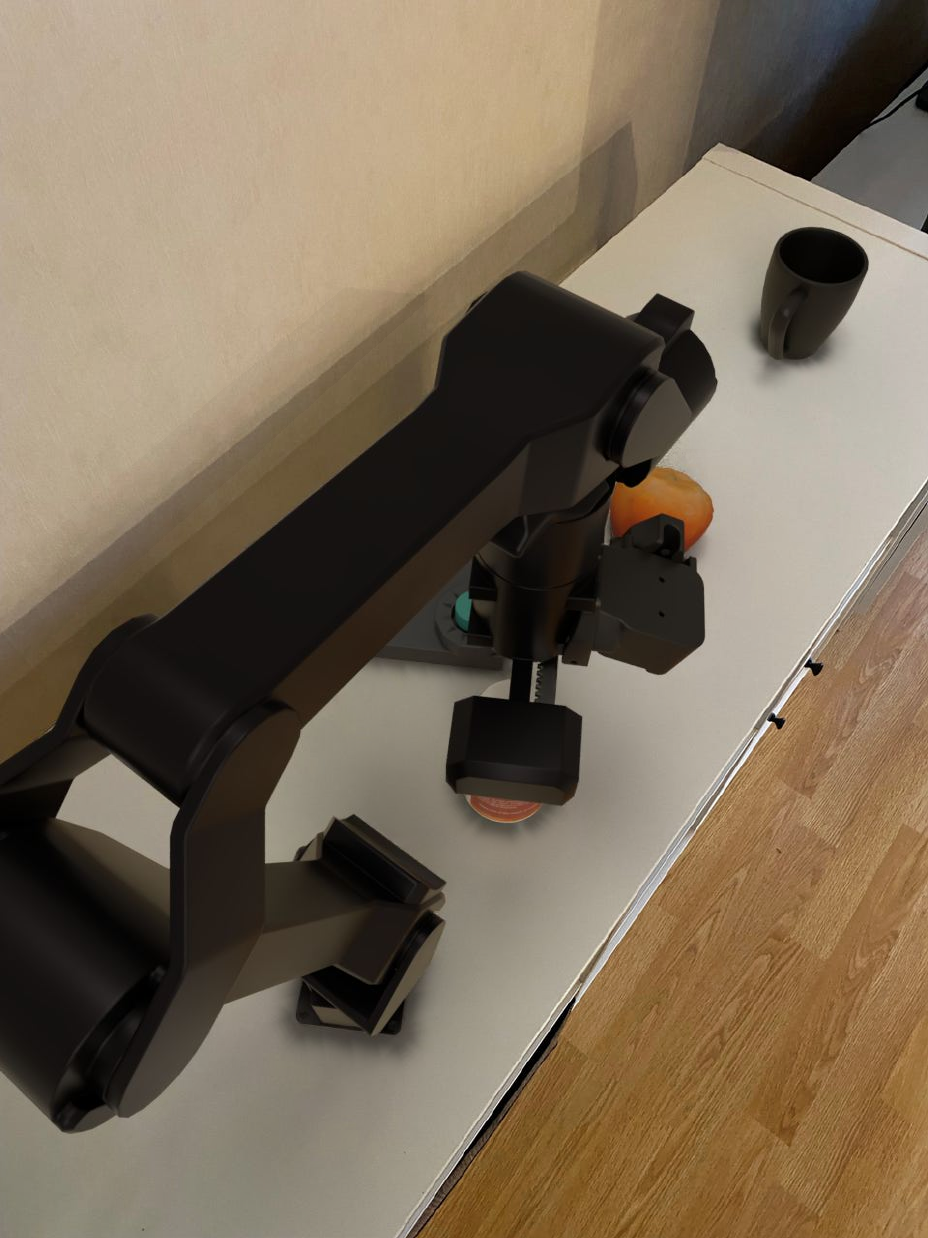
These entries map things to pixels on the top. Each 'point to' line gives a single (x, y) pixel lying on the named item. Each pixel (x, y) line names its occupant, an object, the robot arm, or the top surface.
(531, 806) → the pill bottle
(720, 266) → the top surface
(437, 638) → the scale
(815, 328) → the mug
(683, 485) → the fruit
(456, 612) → the button
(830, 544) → the top surface
